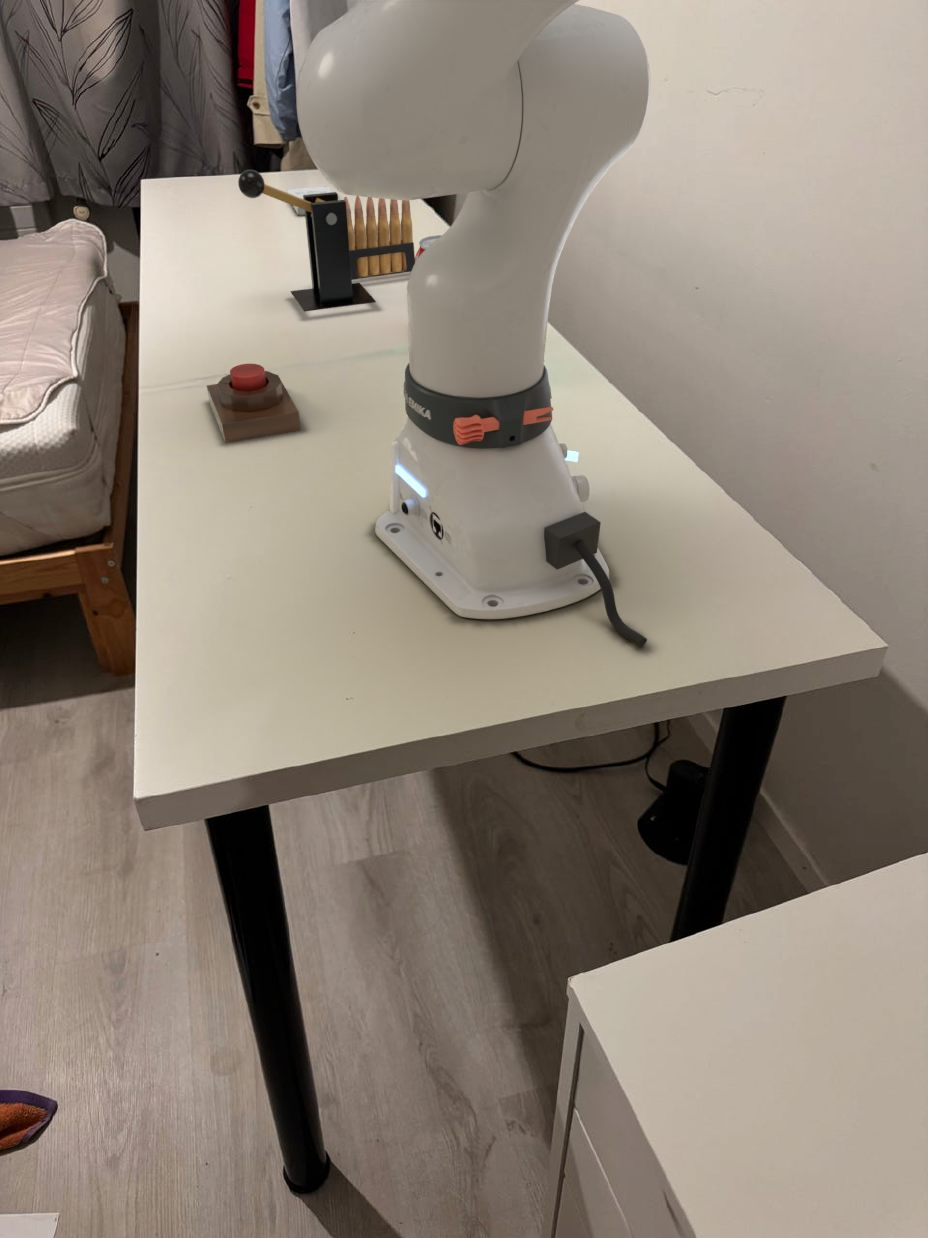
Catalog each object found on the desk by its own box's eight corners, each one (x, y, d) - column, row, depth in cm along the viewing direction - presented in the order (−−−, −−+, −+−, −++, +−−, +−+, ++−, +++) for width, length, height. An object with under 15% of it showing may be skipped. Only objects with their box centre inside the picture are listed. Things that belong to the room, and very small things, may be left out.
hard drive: (298, 216, 158) (287, 197, 167) (343, 212, 160) (330, 194, 169) (297, 206, 157) (285, 188, 166) (343, 202, 158) (329, 185, 168)
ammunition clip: (347, 287, 130) (341, 198, 122) (343, 283, 131) (336, 195, 123) (416, 277, 133) (414, 190, 125) (411, 274, 134) (409, 187, 127)
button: (269, 390, 95) (267, 374, 94) (235, 395, 94) (233, 379, 93) (262, 376, 97) (260, 361, 96) (229, 381, 96) (226, 366, 95)
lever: (237, 195, 110) (245, 168, 109) (233, 188, 112) (240, 162, 111) (334, 232, 117) (342, 207, 116) (328, 225, 119) (336, 201, 118)
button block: (301, 430, 95) (296, 395, 93) (225, 443, 93) (219, 408, 91) (280, 392, 103) (276, 359, 100) (209, 403, 100) (203, 369, 98)
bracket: (305, 319, 120) (293, 209, 111) (291, 299, 126) (279, 193, 117) (376, 309, 123) (370, 202, 114) (360, 290, 129) (353, 187, 120)
